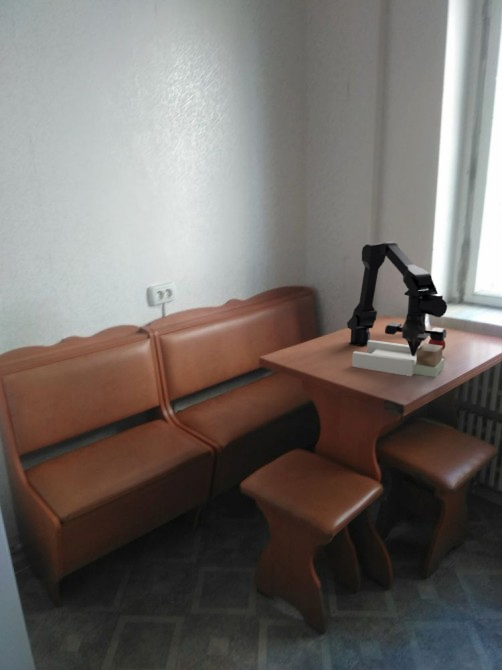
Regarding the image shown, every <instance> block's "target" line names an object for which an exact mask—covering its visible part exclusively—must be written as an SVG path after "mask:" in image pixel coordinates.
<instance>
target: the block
mask: <svg viewBox="0 0 502 670" xmlns="http://www.w3.org/2000/svg"><path fill="white" fill-rule="evenodd" d="M419 347H420V348H418V349H417V359H416V364H419V365H424V366H430V367H436V366H437V365H438V363H439V362H440V361H441V360H442V358H443V351H442V349H443V346H440V345H433V344H428V343H426V342H424V343H423V344H422V345H420V346H419Z"/></svg>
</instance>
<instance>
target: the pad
mask: <svg viewBox="0 0 502 670" xmlns="http://www.w3.org/2000/svg"><path fill="white" fill-rule="evenodd" d="M444 359H445V358H443V357H442V360H441V361H440V362H439V363H438V365H437V366H436V367H430V366H424V365H419V364H415V365H414V374H413V375H419V376H420V375H421V376H426V377H432V378H437V376H438V375H439V373H440V372H441V370H443V368H444V362H445V361H444Z"/></svg>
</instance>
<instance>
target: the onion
mask: <svg viewBox="0 0 502 670" xmlns="http://www.w3.org/2000/svg"><path fill="white" fill-rule="evenodd" d="M427 344H433V345H440V346H443V349H442V352H443V351H444V350H445V348H446V341H445V339H444V340H443V341H438V340H432V339H431V338H430V339H429V340H428V343H427Z"/></svg>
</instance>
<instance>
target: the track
mask: <svg viewBox="0 0 502 670" xmlns="http://www.w3.org/2000/svg"><path fill="white" fill-rule="evenodd" d="M420 347H421V346H419V348H420ZM416 359H417V352H416V354H415V356H412V354H411V351H410V348H409V345H408V344H403V343H396V342H395V343H394V342H387V341H379V340H374V339H373V340H372V339H370V340H368V341H367V345H366V352H364V351H358V350H355V351H353V352H352V363H351V364H352V365H351V366H352V368H358V369H365V370H371V371H377V372H383V373H389V374H393V373H394V375H401V376H405V375H406V376H407V377H412V376H413V375H415V374H414V365H415V364H416Z"/></svg>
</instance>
